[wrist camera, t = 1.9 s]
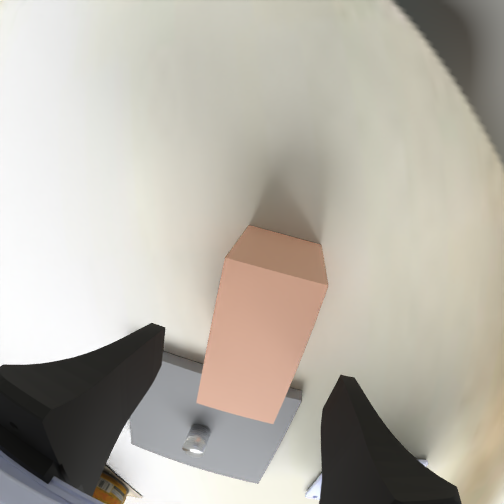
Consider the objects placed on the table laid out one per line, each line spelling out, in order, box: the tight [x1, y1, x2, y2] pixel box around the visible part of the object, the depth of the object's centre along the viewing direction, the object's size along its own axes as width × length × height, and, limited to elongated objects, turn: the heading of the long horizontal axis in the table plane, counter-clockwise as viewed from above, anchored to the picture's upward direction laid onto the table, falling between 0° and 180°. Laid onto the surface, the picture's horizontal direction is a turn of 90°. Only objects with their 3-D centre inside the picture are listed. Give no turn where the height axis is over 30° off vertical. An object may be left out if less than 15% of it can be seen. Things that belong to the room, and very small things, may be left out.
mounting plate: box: [130, 351, 302, 484], centre depth 22 cm, size 12×12×1 cm
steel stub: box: [182, 424, 211, 457], centre depth 20 cm, size 2×2×2 cm
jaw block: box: [196, 225, 328, 424], centre depth 16 cm, size 4×8×6 cm, turn 167°
